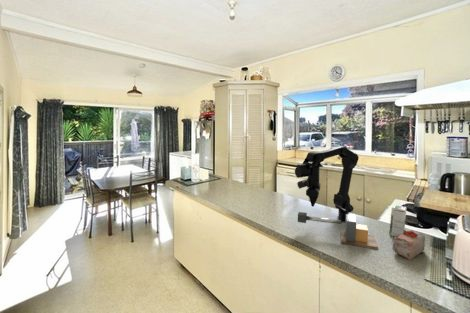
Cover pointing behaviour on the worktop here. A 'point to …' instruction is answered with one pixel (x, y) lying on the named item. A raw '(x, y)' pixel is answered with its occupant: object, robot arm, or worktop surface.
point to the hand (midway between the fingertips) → (313, 203)
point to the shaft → (315, 219)
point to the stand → (350, 234)
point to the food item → (409, 244)
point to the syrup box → (397, 220)
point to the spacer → (361, 233)
